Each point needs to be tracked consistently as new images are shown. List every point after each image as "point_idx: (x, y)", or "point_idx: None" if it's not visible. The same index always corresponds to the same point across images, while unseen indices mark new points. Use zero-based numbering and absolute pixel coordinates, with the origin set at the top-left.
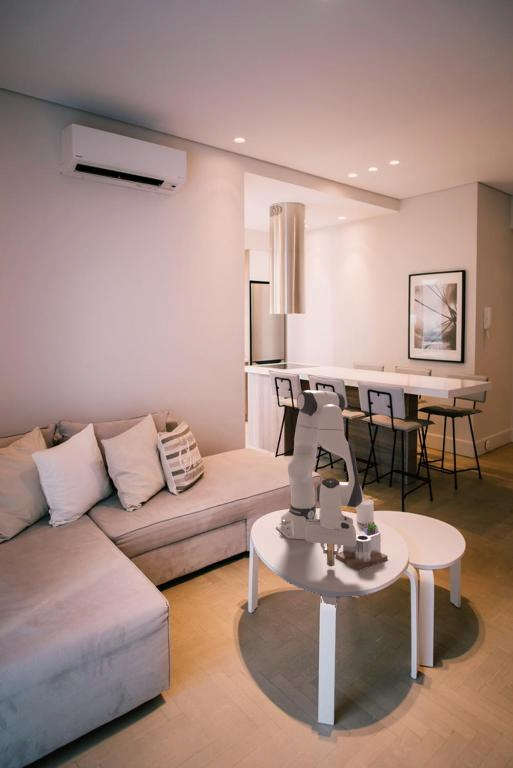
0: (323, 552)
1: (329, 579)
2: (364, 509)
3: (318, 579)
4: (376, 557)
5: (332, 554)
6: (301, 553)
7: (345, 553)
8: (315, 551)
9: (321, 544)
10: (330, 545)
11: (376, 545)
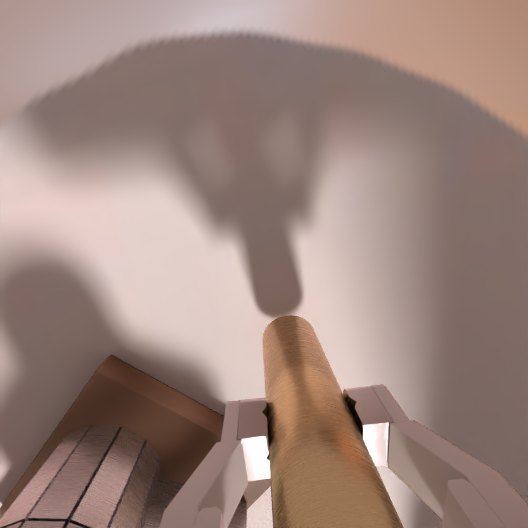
0: (386, 390)
1: (267, 187)
2: None
3: (341, 164)
4: None
5: (282, 388)
6: (471, 432)
7: None
8: None
9: (499, 498)
10: (338, 510)
11: None
